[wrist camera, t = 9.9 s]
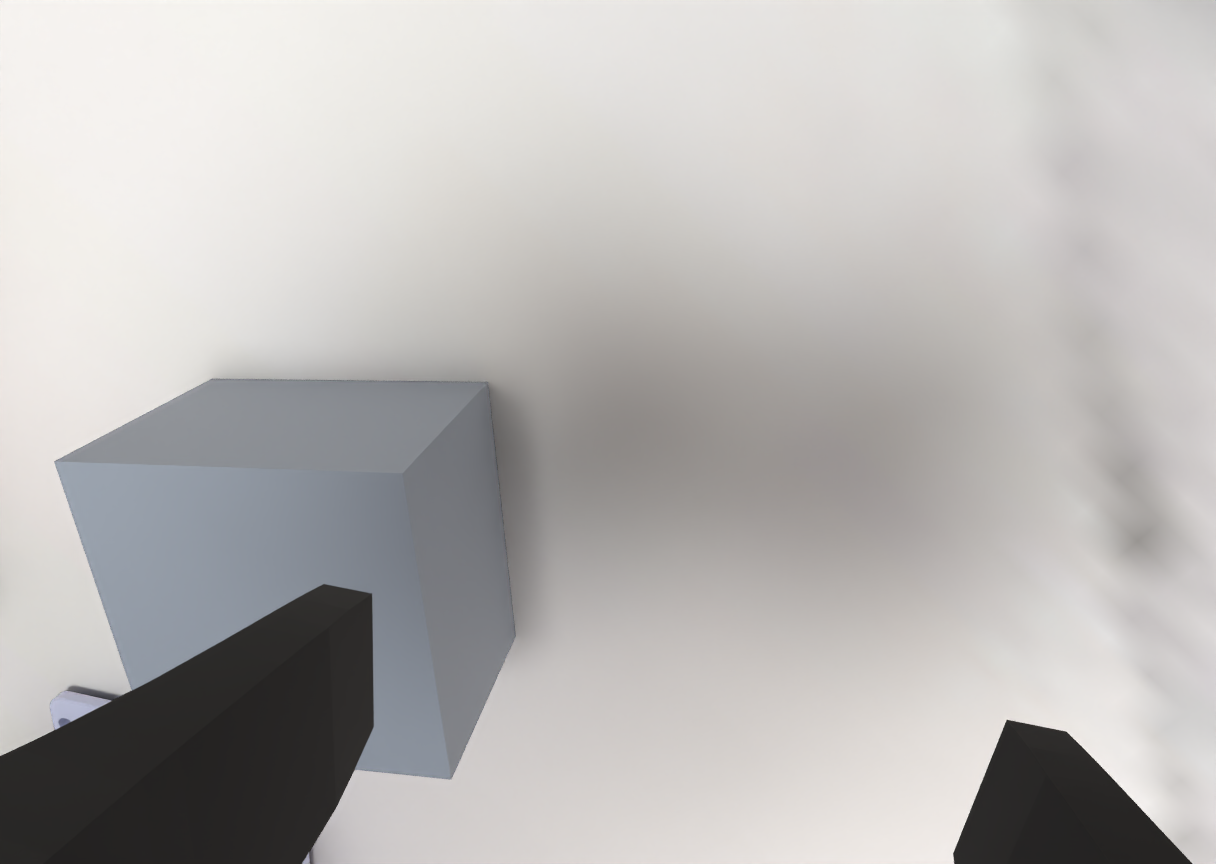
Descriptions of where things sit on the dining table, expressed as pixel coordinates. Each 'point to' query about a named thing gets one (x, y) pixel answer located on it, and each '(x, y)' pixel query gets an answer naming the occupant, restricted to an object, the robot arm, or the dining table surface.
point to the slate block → (311, 537)
